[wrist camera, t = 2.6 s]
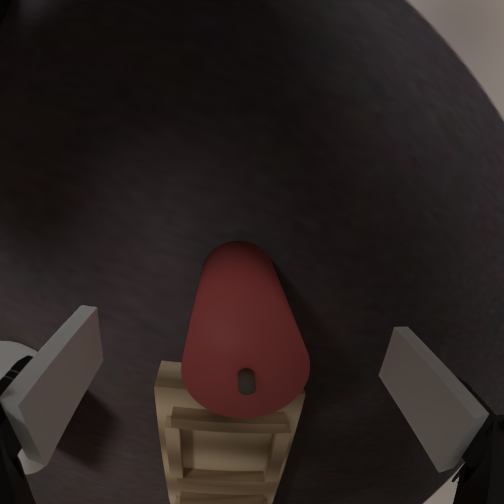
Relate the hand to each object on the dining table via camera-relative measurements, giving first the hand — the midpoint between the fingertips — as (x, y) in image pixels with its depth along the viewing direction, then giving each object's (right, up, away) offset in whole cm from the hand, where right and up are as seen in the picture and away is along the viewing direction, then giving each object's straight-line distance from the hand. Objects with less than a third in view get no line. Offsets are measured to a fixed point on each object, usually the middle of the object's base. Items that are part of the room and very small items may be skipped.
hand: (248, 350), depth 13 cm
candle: (-1, +3, +7) cm, 8 cm away
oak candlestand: (-3, -16, +13) cm, 20 cm away
